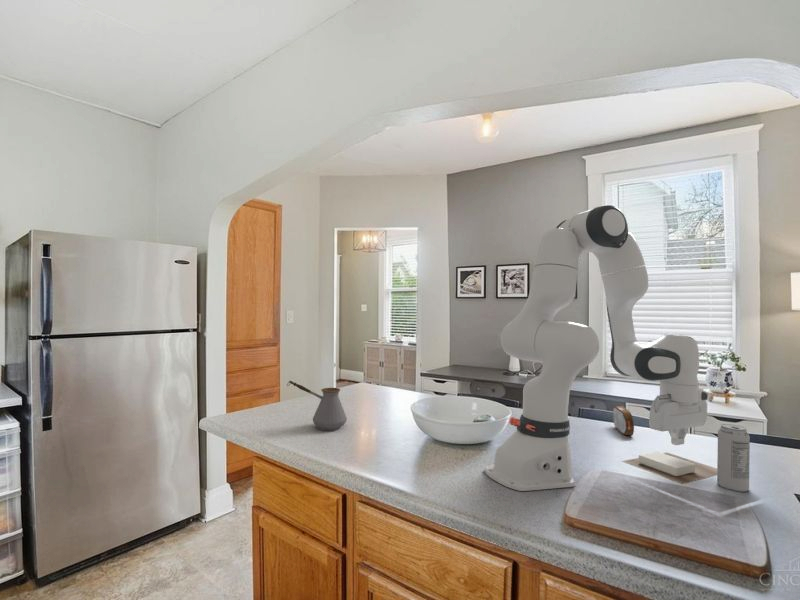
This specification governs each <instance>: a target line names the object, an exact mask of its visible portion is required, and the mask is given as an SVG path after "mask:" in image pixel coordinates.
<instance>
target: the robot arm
mask: <svg viewBox="0 0 800 600" xmlns="http://www.w3.org/2000/svg"><path fill="white" fill-rule="evenodd" d="M628 226H629V225H628V221H627V218H626V216H625V215H624V213H623V212H622V211H621V210H620V209H619V208H618V207H617V206H615V205H609V204H606V205H605V204H604V205H600V206H596V207H594V208H592V209H589V210H586V211H583V212H579V213H577V214H574V215H573V216H571V217H569V218H567V219H565V220H563V221H562V222H560V223H559V224H557V225H556V227H555V228H551V229H548V230H546V231H545V232H544V233H542V235H541V237H540V240H539V243H538V246H537V249H536V253H535V257H534V261H533V262H534V263H533V269H532V277H531V283H530V287H529V293H528V297H527V299H526V302H525V303H524V305H523V307H522V309H521V310H520V312H519V313H518V314H517V316H516V317H514V319H512V320H511V321H509V322H508V323H507V324H506V325H505V326H504V327H503V328H502V331H501V334H500V344H501V348H502V349H503V351H504V353H506V355H508V356H511V357H513V358H516V359H517V360H521V361H527V362H534V363H539V364H540V363H542V367H541V371H540V373H539V375H537V376H535V377H532V378H530V379H529V380H528V381H526V383H525V384H524V385H523V389H522V394H523V395H522V413H521V415H520V417H519V418H516V417H514V416H512V417H510V418H509V425H511V426H513V427H515V428H516V430H515V431H514V432H513V433H512V434H511V435H509V437H508V438H507V439H505V440H504V442H503V443H501V444H500V445H499V446H498V447H497V448H496V452H495V454H494V463H491V464H489V465H486V466H485V467H484V473H485V474H486V476H488V477H489V478H490V479H492V480H494V481H495V482H497V483H498V484H500V485H502V486H505V487H506V488H509V489H512V490H516V491H519V492H528V491H540V490H551V489H560V488H572V487H575V485H576V483H575V479H574V477H575V476H574V473H573V468H572V467H573V466H572V456H571V448H570V444H569V443H570V442H569V435H570V434H571V433H570V430H571V426H570V425H571V423H570V419H569V402H570V400H569V399H570V393H571V388H572V385H573V383H574V380H575V379H576V377H577V376H578V374H579V373H580V372H581V371H582V370H583V369H584V368H586V367H587V366H588V367H589V365H590V364H592V363H593V362H594V361H595V359H597V356H598V354H599V352H600V339H599V337H598V335H597V333H596V331H595V330H594V329H593V328H592V327H591V326H588V325H585V324H582V323H577V322H573V321H558V320H557V321H556V320H554V319H555V316H556V315H558V312H559V311H561V310H562V309H564V308H566V307H568V306H570V304H572V303H573V301H574V299H575V297H576V292H577V291H576V290H577V280H578V273H579V272H578V271H579V258H580V255H581V254H587V253H592V254H593V255H594V256H595V257H596V258H597V260H598V266H599V271H600V276H601V280H602V284H603V287H604V293H605V302H606V303H605V304H606V313H607V318H608V319H607V320H608V325H609V331H610V335H611V349H610V355H609V356H610V357H609V358H610V363H611V366H612V368H613V369H614V370H615V371H616V372H617V373H618V374H620V375H622V376H624V377H631V378H636V379H640V380H644V381H650V382H654V381H659V395H656V397H655V399H653V401H652V402H651V405H650V410H649V415H648V416H649V417H648V424H649V425H648V426H649V428H650V429H651V430H655V431H658V432H668V434H669V436H670V437H671V438H670V440H671V441H670V443H671V444H672V445H673V446H680V445H684V444H685V438H686V436H687V434H688V429H689V428H695V427H702V426H705V425H706V423H707V421H708V420H707V419H708V402H707V401H709V399H710V398H709V397H710V395H709V394H710V393H708V392H707V391H705V390H703V389H701V388H699V387H700V386H699V385H700V383H699V380H698V372H699V370H700V353H699V351H700V350H699V346H698V343H697V340H695V338H693V337H692V336H689V335H684V334H678V333H670V332H668V333H664V335H662V336H661V337H659V338H658V339H656V340H653V341H651V342H647V343H645V344H643V343H642V344H641V343H640V342H639V341H638V340H637V337H636V332H635V325H634V320H633V309H634V306H635V305H636V303H637V302H638V301H640V300H641V299H642V298H643V297H644V296H645V294H646V293H647V292H648V290H649V275H648V271H647V267H646V263H645V260H644V257H643V254H642V251H641V249H640V246H639V244H638V242H637V240H636V239H635V236H634V235H633V234H632V233H631V232H629V227H628Z"/></svg>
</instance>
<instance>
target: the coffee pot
mask: <svg viewBox="0 0 800 600" xmlns="http://www.w3.org/2000/svg"><path fill="white" fill-rule="evenodd" d="M290 385H293V386H294V387H297V388H298V389H299V390H302V391H304V392H306V393H308V394H311V395H313V396H315V397H317V398H318V399H320V402H319V404H318V406H317V408H316V410H315V412H314V415H313V417H312V423H313V424H314V425H315V426H316V427H317V428H318V429H319V430H322V431H328V432H329V431H338V430H340V429H341V428H342V427H343V426H344V425H346V422H347V420H348V417H347V415H346V412H345V409H344V407H343V404H342V402H341V399H340V398H339V393H340V391H341V388H338V387H324V388H323V387H322V388H321V389H320V391H321V392H322V395H320V394H318V393H316V392H314V391H312V390H310V389H308V388H307V387H305V386H303V385H301V384H298V383H297V382H294V381H292V380H289V381H288V382H287V384H286V386H287V387H289V386H290Z"/></svg>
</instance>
